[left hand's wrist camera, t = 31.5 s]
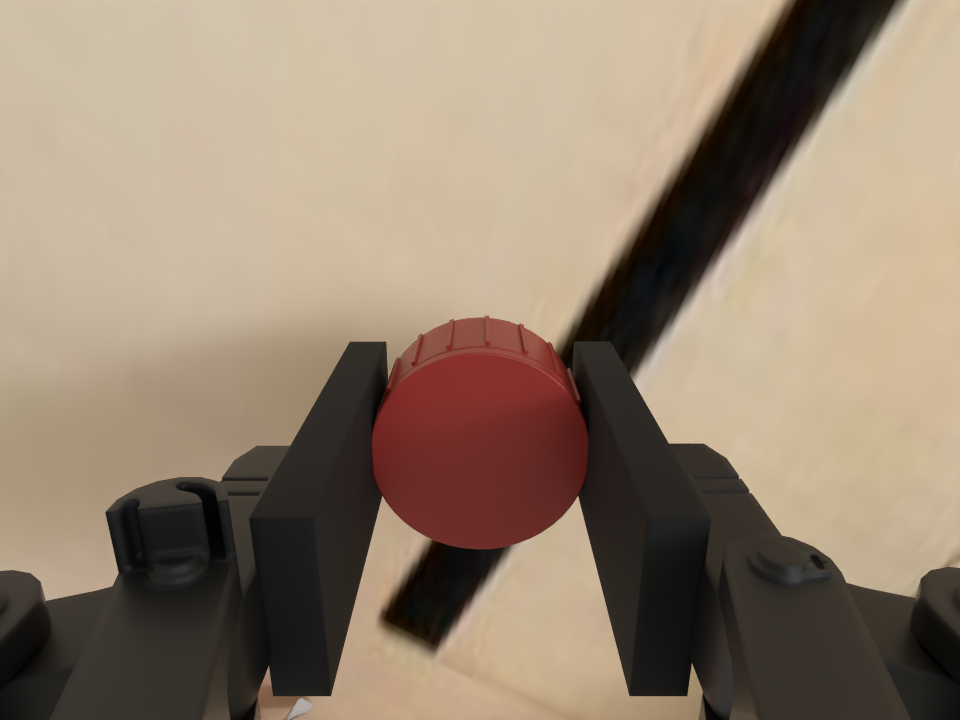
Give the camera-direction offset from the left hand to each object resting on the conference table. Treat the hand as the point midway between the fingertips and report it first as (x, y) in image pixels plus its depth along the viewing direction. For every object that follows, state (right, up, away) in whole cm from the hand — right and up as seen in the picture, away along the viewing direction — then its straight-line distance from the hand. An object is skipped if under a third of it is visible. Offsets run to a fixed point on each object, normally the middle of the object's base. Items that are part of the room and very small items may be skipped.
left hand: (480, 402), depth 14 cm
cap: (0, -1, -2) cm, 2 cm away
